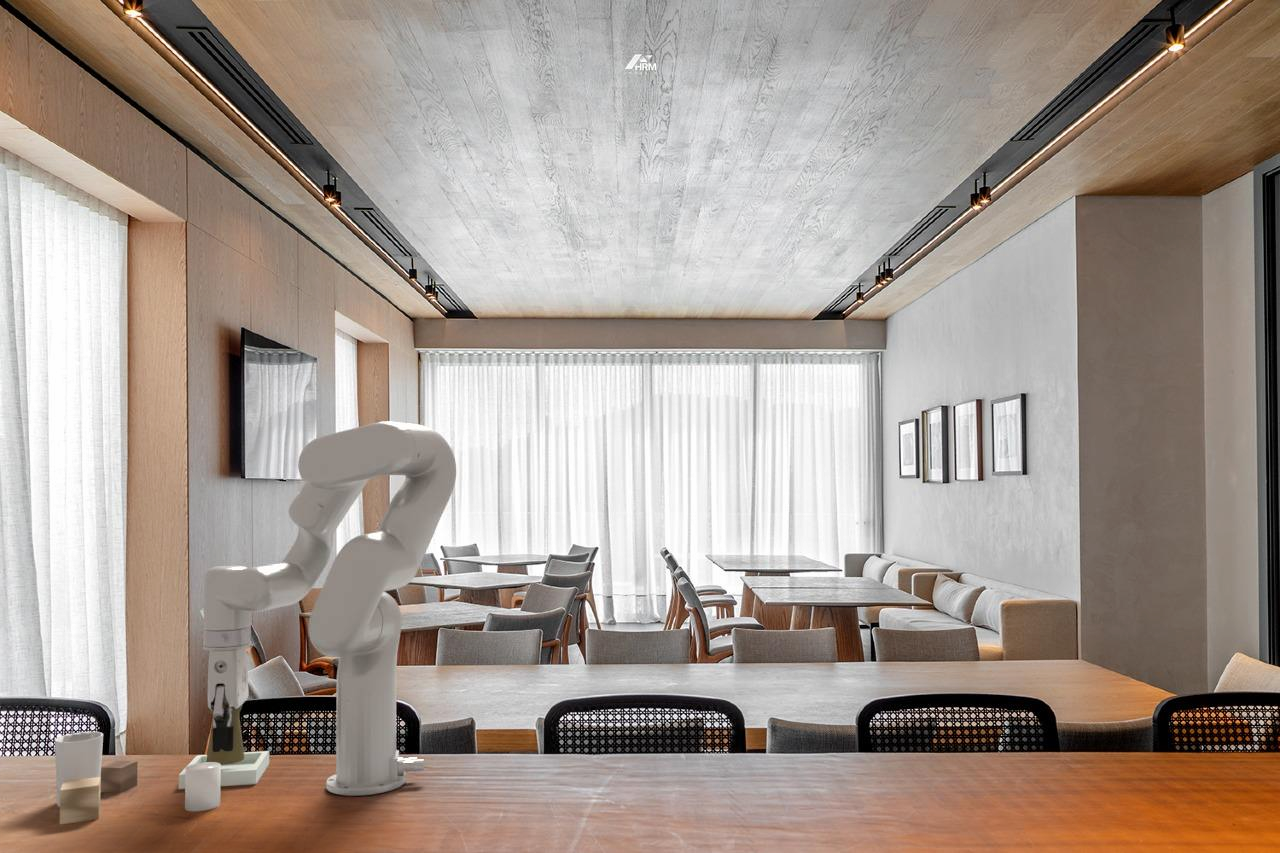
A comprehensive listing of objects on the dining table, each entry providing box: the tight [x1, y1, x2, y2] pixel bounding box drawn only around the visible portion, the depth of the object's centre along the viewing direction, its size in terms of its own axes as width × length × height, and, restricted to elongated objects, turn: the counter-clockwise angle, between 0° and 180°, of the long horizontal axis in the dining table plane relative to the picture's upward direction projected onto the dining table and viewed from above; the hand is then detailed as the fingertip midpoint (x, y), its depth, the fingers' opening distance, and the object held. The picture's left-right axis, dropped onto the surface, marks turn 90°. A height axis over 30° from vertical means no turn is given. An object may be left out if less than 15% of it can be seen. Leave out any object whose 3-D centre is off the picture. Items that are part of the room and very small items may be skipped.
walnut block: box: [100, 760, 139, 794], centre depth 163 cm, size 4×4×4 cm
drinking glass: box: [54, 731, 104, 808], centre depth 156 cm, size 7×7×10 cm
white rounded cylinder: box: [184, 762, 222, 812], centre depth 153 cm, size 5×5×6 cm
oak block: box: [59, 777, 101, 825], centre depth 149 cm, size 5×5×5 cm
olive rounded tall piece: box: [206, 697, 245, 765], centre depth 169 cm, size 6×6×11 cm
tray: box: [178, 750, 270, 790], centre depth 169 cm, size 12×12×2 cm
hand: (226, 746), depth 169 cm, fingers closed on olive rounded tall piece, 4 cm apart
